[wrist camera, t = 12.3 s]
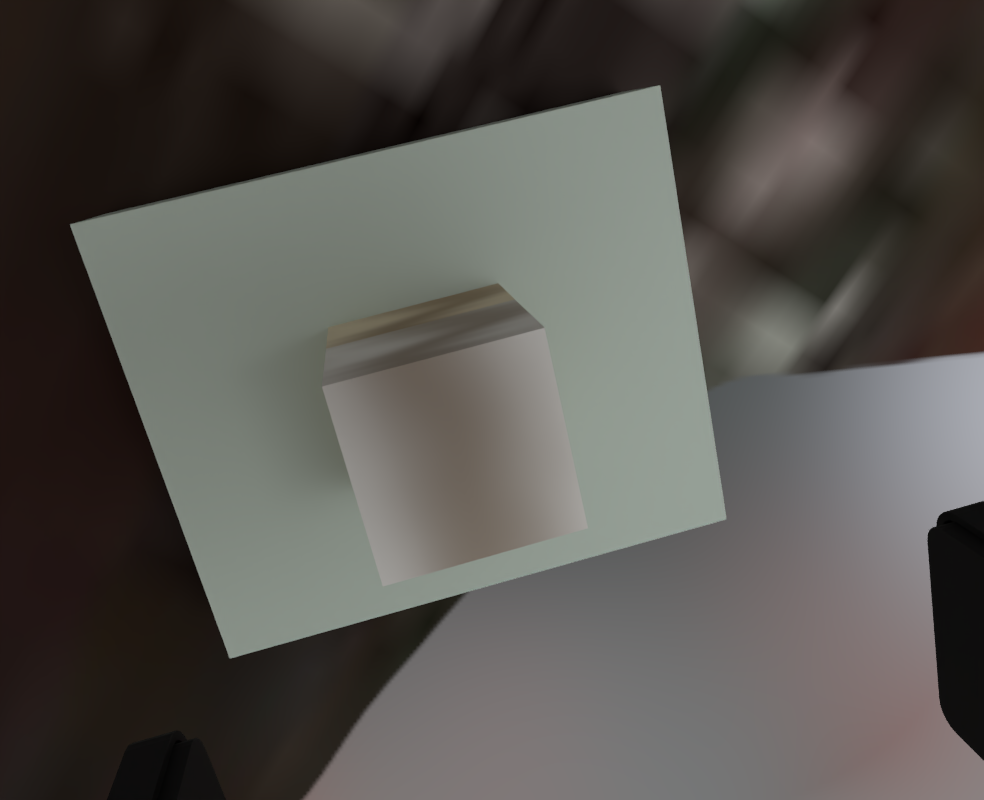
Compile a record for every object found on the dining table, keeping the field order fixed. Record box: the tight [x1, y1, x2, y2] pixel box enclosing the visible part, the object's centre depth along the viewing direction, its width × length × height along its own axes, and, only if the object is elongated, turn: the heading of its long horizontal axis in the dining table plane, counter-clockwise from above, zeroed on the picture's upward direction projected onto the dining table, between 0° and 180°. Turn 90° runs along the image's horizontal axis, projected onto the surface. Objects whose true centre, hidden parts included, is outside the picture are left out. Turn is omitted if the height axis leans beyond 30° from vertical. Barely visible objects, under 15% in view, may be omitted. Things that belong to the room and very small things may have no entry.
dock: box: [70, 85, 726, 658], centre depth 30 cm, size 18×15×4 cm
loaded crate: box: [322, 283, 588, 586], centre depth 25 cm, size 6×6×7 cm
